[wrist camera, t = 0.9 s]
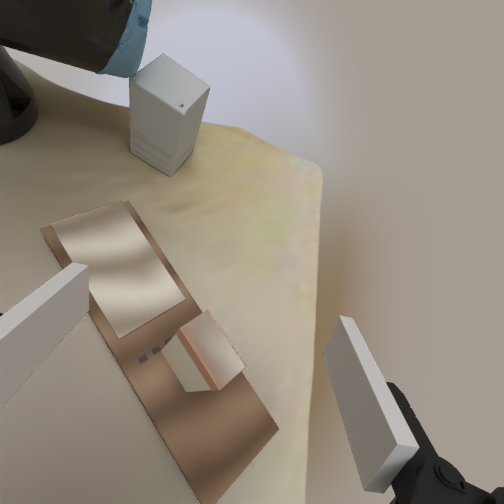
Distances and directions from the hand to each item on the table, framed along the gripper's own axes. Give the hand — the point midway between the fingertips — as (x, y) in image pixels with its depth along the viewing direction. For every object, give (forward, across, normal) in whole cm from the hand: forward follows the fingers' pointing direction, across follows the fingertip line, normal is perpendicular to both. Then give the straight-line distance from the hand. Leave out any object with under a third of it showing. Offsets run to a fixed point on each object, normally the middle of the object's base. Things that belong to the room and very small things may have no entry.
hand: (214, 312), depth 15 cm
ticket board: (+14, -6, -15) cm, 21 cm away
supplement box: (+36, -14, +2) cm, 38 cm away
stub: (+10, -2, -15) cm, 19 cm away
